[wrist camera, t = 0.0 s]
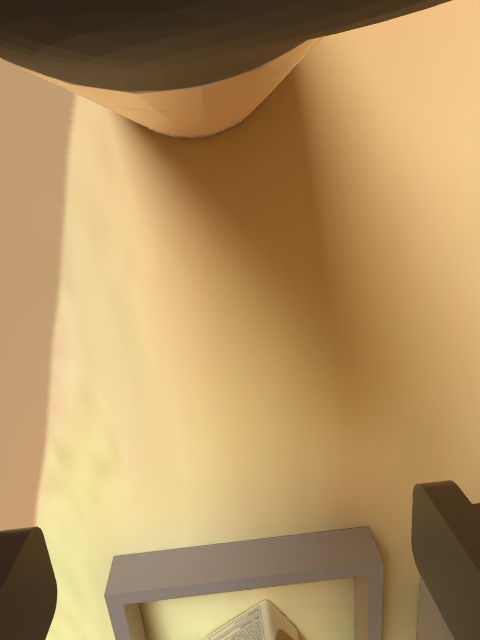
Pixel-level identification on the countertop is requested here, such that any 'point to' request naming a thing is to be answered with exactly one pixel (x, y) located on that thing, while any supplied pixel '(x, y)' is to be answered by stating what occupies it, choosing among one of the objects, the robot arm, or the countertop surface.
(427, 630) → the ceramic bowl
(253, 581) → the parts tray
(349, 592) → the countertop surface
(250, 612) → the skincare box
